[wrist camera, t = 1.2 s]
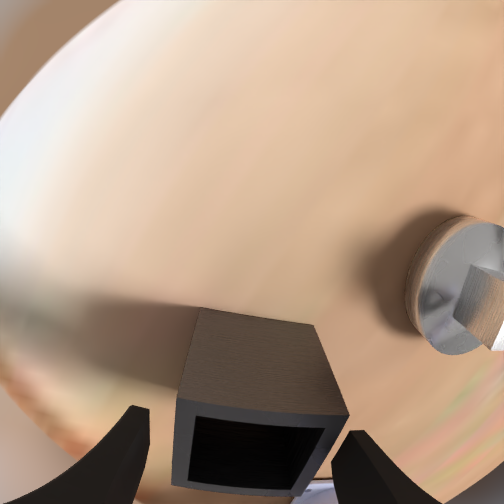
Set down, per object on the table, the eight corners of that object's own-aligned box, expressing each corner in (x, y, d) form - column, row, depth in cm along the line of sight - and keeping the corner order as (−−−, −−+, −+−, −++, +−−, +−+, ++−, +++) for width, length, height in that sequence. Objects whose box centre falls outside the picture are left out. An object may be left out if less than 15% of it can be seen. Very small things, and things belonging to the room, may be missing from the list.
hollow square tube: (285, 406, 16) (301, 496, 10) (189, 393, 15) (171, 484, 9) (313, 325, 14) (349, 415, 8) (200, 307, 14) (176, 397, 8)
